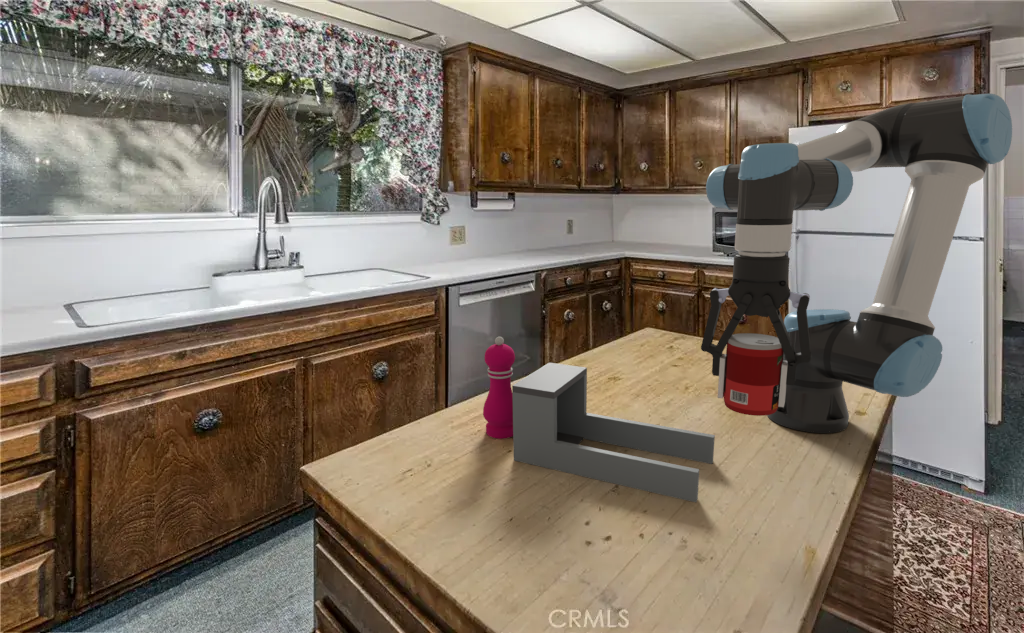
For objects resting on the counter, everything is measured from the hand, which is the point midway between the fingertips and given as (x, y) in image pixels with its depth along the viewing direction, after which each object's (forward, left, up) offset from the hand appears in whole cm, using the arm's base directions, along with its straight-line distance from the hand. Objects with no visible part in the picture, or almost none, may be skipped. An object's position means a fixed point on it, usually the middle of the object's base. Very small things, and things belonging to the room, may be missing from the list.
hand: (750, 399), depth 88 cm
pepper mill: (+46, -2, -15) cm, 49 cm away
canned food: (0, 0, -2) cm, 2 cm away
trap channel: (+21, 0, -15) cm, 26 cm away
